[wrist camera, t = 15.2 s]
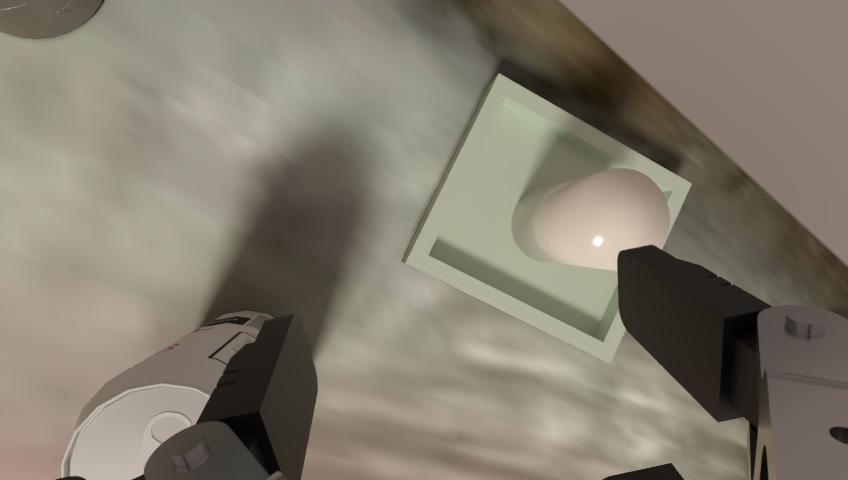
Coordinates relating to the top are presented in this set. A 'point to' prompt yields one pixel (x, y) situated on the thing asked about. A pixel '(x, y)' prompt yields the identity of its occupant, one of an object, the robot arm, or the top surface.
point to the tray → (495, 203)
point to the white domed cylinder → (591, 219)
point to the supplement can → (154, 400)
